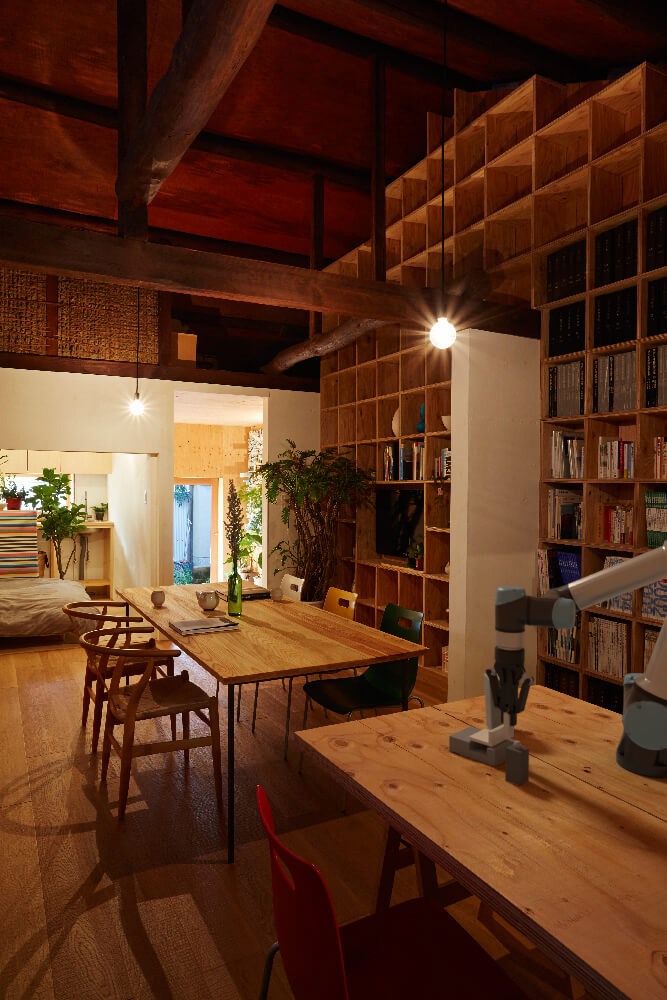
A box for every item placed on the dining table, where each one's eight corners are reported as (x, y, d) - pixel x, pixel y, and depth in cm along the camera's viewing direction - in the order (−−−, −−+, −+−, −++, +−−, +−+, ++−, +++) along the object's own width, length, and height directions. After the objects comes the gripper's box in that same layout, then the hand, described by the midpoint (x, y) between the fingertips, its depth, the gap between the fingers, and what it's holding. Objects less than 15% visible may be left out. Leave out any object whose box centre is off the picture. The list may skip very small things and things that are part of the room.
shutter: (508, 738, 172) (508, 724, 172) (491, 747, 166) (491, 732, 166) (485, 731, 177) (485, 717, 177) (468, 739, 171) (468, 725, 171)
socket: (514, 755, 171) (515, 740, 171) (494, 766, 164) (494, 750, 164) (470, 740, 181) (470, 726, 181) (449, 750, 174) (449, 735, 174)
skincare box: (513, 734, 185) (514, 680, 185) (489, 734, 186) (489, 680, 185) (506, 724, 194) (506, 671, 194) (482, 723, 194) (483, 671, 194)
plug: (528, 780, 156) (529, 741, 156) (520, 786, 154) (520, 746, 153) (513, 775, 159) (514, 737, 159) (505, 780, 157) (505, 741, 156)
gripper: (540, 648, 164) (539, 740, 165) (495, 639, 174) (494, 726, 174) (525, 653, 159) (524, 748, 160) (479, 644, 168) (478, 733, 169)
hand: (508, 736), depth 167 cm, fingers closed
